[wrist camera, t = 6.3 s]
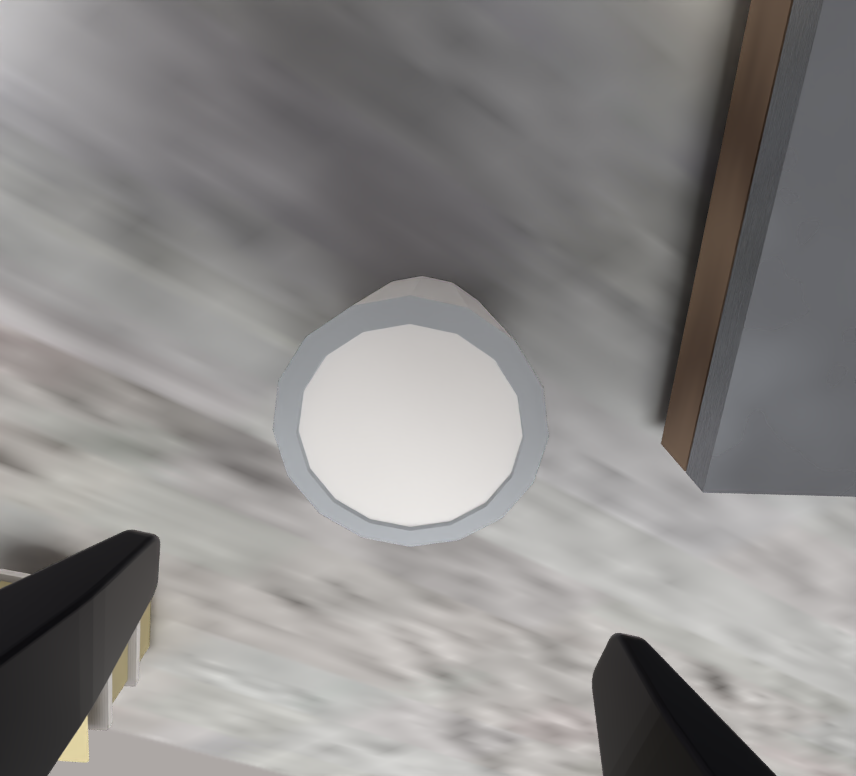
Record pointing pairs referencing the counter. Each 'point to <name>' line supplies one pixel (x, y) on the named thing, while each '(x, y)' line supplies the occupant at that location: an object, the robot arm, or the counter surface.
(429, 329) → the white cup
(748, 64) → the brown wooden board
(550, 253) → the counter surface
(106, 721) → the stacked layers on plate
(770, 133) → the levelling plate
